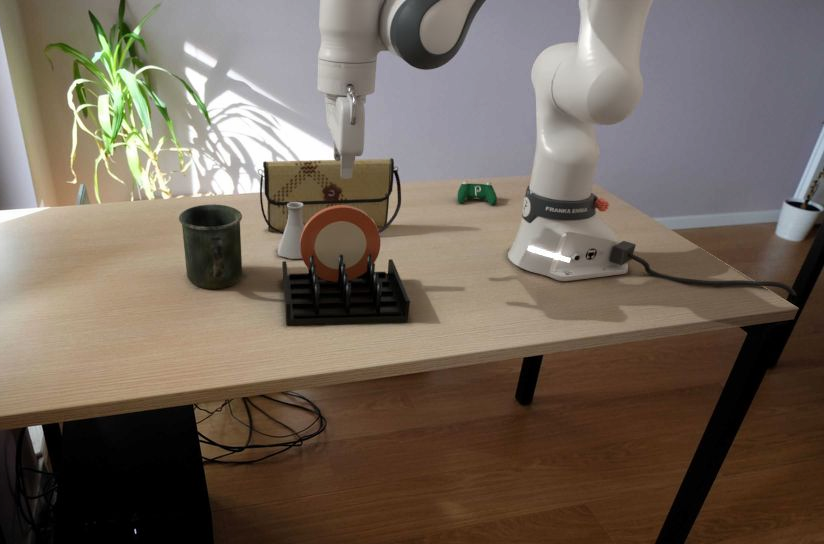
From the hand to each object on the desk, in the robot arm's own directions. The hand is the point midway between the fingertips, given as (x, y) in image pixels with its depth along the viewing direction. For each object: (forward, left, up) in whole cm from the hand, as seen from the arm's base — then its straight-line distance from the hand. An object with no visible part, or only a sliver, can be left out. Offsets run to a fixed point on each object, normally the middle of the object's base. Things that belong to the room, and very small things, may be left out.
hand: (342, 168), depth 108 cm
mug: (+22, -3, -22) cm, 31 cm away
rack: (0, +5, -22) cm, 22 cm away
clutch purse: (-1, -25, -22) cm, 33 cm away
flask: (+7, -15, -22) cm, 27 cm away
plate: (0, 0, -14) cm, 14 cm away
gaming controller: (-38, -43, -22) cm, 62 cm away
